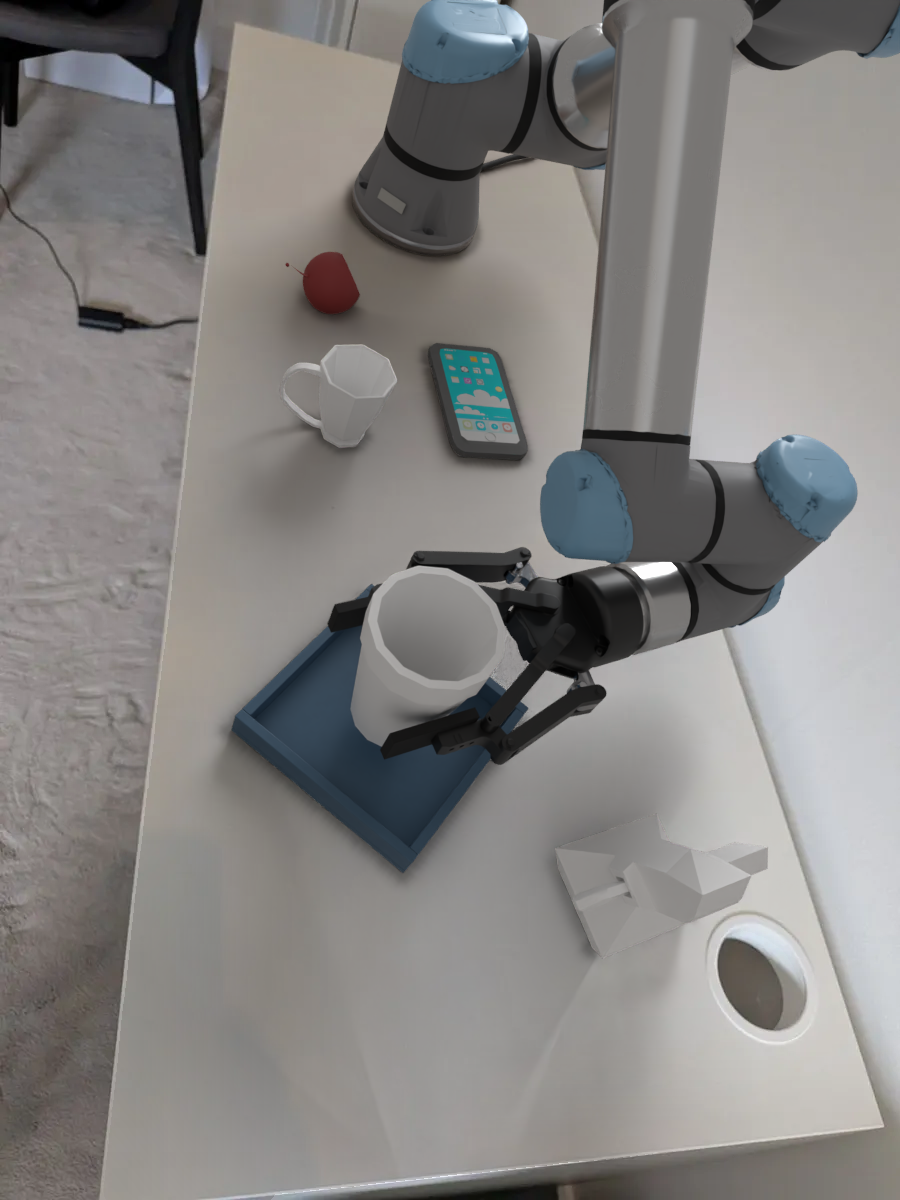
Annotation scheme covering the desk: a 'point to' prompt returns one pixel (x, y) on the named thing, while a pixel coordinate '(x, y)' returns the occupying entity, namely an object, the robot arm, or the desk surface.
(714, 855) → the tape dispenser
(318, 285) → the fruit
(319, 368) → the cup
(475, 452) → the smartphone
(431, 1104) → the desk surface
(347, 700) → the tray
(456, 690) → the foam cup
